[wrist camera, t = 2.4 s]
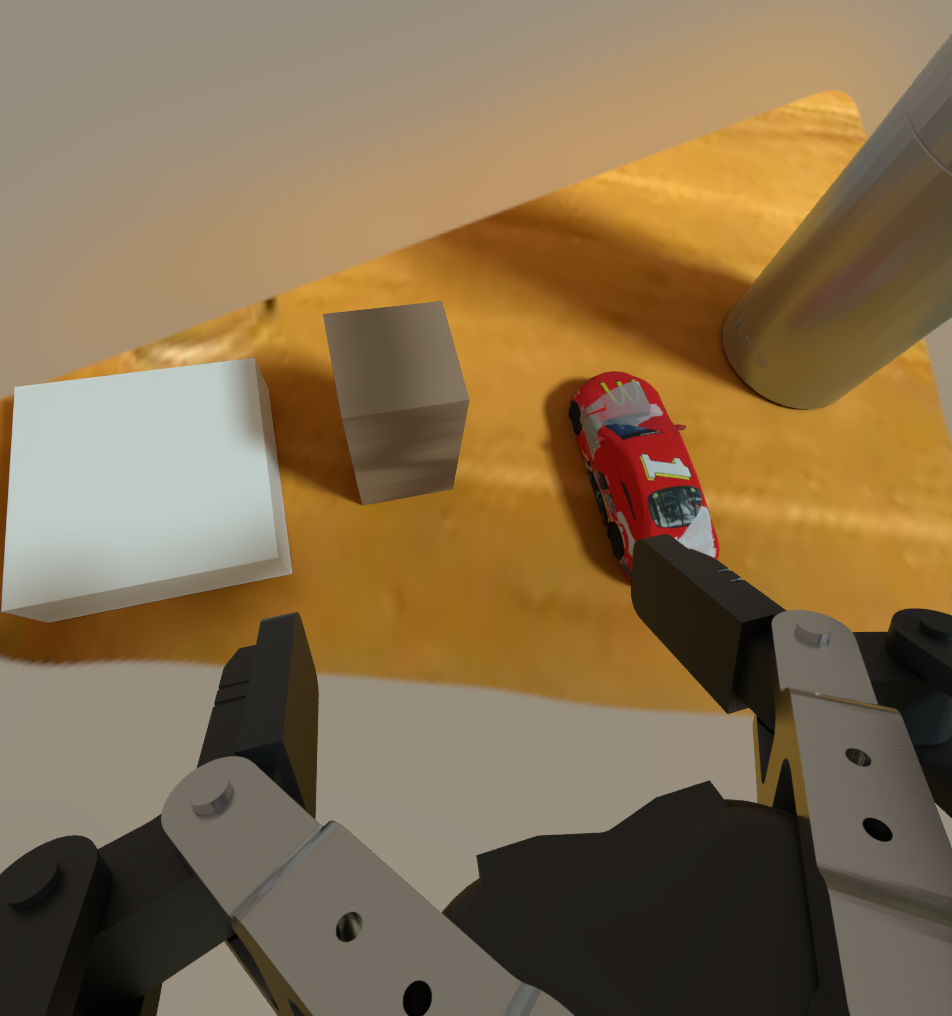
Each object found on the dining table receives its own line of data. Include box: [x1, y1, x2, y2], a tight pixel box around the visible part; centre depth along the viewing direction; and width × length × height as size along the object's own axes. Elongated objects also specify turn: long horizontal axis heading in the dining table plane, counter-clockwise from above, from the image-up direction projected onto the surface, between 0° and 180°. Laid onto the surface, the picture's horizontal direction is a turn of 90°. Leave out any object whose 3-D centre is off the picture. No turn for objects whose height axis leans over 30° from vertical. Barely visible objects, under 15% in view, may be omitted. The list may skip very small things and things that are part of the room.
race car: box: [569, 371, 719, 580], centre depth 29 cm, size 13×5×4 cm, turn 11°
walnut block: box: [323, 301, 469, 505], centre depth 25 cm, size 5×5×9 cm
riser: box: [1, 358, 292, 623], centre depth 26 cm, size 11×11×3 cm
